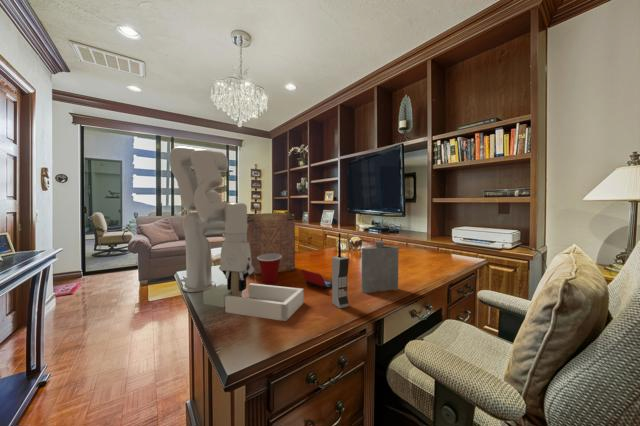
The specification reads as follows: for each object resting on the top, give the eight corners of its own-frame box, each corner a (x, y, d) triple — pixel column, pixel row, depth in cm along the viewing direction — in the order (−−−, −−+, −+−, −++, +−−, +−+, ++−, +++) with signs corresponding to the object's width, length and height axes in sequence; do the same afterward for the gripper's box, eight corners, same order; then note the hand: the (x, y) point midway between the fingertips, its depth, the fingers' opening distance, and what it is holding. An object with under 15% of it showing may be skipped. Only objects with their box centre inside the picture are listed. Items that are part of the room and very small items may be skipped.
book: (244, 275, 126) (244, 214, 125) (243, 270, 135) (243, 213, 134) (295, 270, 135) (294, 213, 134) (291, 266, 144) (290, 213, 142)
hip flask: (363, 293, 100) (363, 242, 100) (359, 290, 104) (359, 241, 103) (399, 290, 104) (400, 241, 103) (394, 286, 108) (394, 239, 107)
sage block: (203, 304, 91) (203, 291, 91) (222, 295, 99) (222, 284, 99) (223, 308, 87) (223, 295, 87) (240, 298, 96) (240, 286, 96)
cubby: (225, 312, 83) (225, 297, 83) (251, 296, 98) (250, 283, 97) (285, 321, 77) (285, 304, 77) (303, 302, 91) (303, 288, 91)
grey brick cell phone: (339, 309, 86) (339, 234, 85) (332, 303, 90) (332, 233, 89) (349, 306, 87) (349, 233, 86) (341, 301, 92) (341, 232, 91)
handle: (245, 301, 89) (244, 258, 88) (225, 302, 88) (225, 259, 87) (247, 296, 94) (246, 255, 93) (229, 297, 93) (228, 256, 92)
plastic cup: (253, 285, 110) (253, 258, 110) (262, 278, 121) (262, 253, 120) (278, 286, 109) (277, 258, 108) (284, 279, 119) (284, 253, 119)
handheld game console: (338, 286, 109) (338, 269, 109) (320, 293, 102) (320, 274, 102) (318, 280, 118) (317, 264, 118) (300, 285, 111) (300, 268, 111)
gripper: (208, 238, 89) (209, 290, 90) (251, 240, 84) (251, 295, 85) (223, 235, 96) (223, 284, 97) (262, 237, 91) (263, 288, 92)
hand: (236, 288), depth 91 cm, fingers closed on handle, 4 cm apart
